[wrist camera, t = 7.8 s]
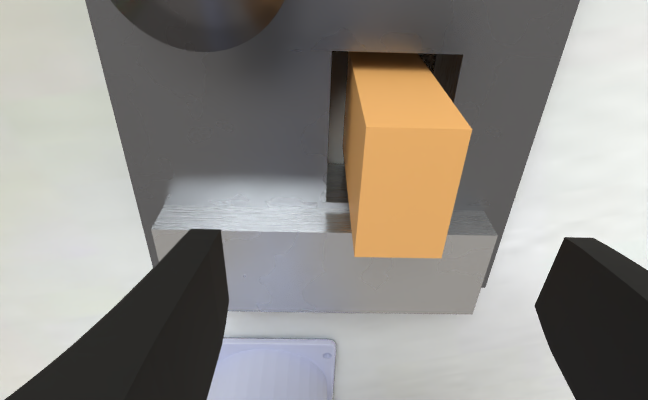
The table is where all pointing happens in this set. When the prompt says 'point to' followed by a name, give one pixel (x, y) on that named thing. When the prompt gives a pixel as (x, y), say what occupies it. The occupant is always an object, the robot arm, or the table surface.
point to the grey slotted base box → (317, 135)
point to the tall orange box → (400, 156)
